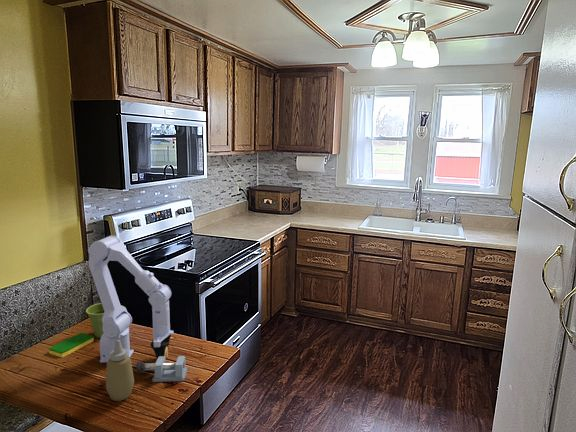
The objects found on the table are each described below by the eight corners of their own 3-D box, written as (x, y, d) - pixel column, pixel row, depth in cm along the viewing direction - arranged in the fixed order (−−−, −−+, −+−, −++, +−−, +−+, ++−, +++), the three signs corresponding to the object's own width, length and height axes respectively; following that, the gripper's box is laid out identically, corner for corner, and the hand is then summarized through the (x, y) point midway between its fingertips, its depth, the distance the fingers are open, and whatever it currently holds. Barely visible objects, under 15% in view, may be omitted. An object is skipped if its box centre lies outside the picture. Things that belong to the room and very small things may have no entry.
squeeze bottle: (106, 406, 116) (102, 349, 112) (106, 390, 123) (103, 337, 120) (135, 400, 119) (132, 344, 116) (134, 385, 126) (131, 332, 123)
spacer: (157, 364, 138) (156, 353, 138) (160, 356, 144) (160, 346, 143) (164, 364, 139) (164, 353, 138) (167, 356, 144) (167, 346, 143)
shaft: (136, 374, 129) (136, 365, 128) (139, 368, 132) (139, 359, 132) (175, 373, 130) (175, 364, 129) (177, 368, 133) (177, 358, 133)
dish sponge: (94, 341, 154) (94, 336, 153) (62, 358, 141) (61, 352, 141) (81, 338, 157) (81, 332, 156) (48, 354, 144) (48, 348, 144)
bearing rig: (152, 381, 128) (151, 366, 127) (157, 370, 134) (156, 355, 133) (183, 380, 129) (183, 365, 128) (187, 370, 135) (186, 355, 134)
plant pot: (90, 329, 163) (88, 303, 161) (121, 326, 167) (119, 300, 165) (85, 343, 152) (83, 315, 150) (118, 339, 156) (117, 312, 154)
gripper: (168, 329, 132) (169, 366, 134) (176, 311, 146) (177, 345, 148) (146, 329, 131) (148, 367, 133) (157, 311, 145) (158, 346, 148)
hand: (162, 356), depth 141 cm, fingers closed on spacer, 5 cm apart
